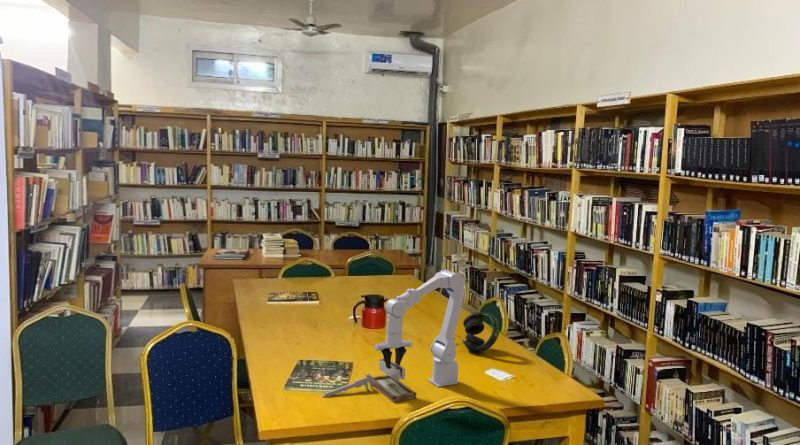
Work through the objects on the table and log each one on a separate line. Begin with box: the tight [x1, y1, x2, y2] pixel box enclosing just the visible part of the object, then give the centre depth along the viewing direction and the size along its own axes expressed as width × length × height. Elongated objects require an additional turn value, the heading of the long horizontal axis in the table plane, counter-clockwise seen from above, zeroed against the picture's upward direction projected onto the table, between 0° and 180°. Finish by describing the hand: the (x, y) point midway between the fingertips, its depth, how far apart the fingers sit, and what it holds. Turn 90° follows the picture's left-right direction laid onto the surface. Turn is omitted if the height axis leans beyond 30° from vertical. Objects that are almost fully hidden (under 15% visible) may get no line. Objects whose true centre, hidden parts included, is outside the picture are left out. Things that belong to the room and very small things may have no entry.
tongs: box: [378, 357, 406, 381], centre depth 224 cm, size 3×14×5 cm, turn 28°
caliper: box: [321, 372, 374, 398], centre depth 220 cm, size 20×1×6 cm, turn 121°
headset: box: [454, 311, 501, 352], centre depth 277 cm, size 18×14×29 cm
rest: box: [372, 374, 417, 403], centre depth 224 cm, size 9×20×2 cm, turn 28°
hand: (392, 367), depth 223 cm, fingers closed on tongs, 3 cm apart
